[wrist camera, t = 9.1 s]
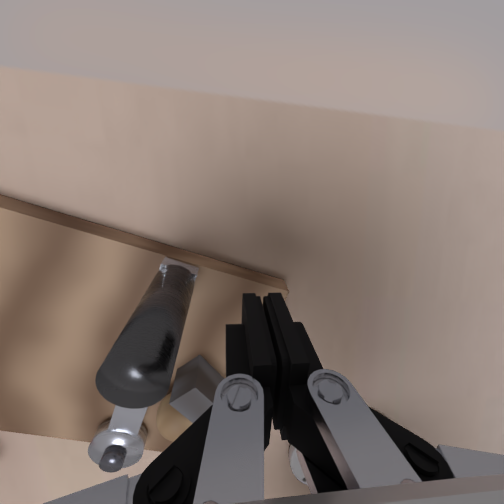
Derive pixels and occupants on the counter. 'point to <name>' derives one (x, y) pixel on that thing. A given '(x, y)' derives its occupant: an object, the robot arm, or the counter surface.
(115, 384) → the lever
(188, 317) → the board
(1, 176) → the counter surface
